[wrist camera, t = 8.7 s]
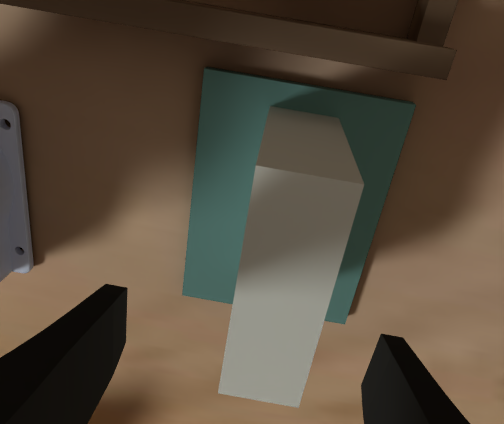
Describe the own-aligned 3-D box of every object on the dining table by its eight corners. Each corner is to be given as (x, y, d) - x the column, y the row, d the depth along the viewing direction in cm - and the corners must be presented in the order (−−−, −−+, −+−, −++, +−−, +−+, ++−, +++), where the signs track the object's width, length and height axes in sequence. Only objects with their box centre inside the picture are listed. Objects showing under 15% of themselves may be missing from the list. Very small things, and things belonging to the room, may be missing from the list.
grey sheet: (297, 286, 22) (298, 407, 16) (240, 276, 22) (218, 393, 16) (338, 118, 18) (364, 184, 12) (269, 105, 18) (255, 165, 12)
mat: (343, 316, 24) (344, 324, 23) (184, 288, 24) (182, 295, 23) (412, 101, 18) (416, 104, 18) (206, 66, 18) (203, 68, 18)
